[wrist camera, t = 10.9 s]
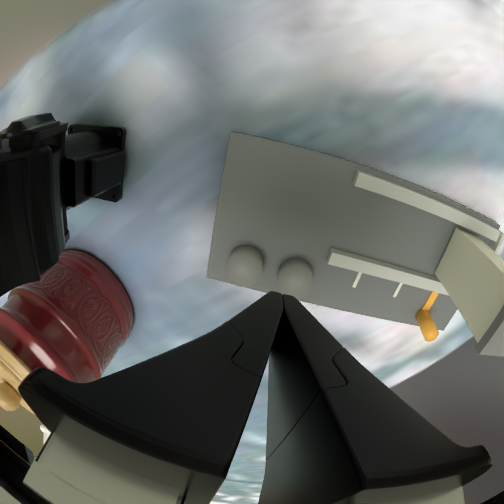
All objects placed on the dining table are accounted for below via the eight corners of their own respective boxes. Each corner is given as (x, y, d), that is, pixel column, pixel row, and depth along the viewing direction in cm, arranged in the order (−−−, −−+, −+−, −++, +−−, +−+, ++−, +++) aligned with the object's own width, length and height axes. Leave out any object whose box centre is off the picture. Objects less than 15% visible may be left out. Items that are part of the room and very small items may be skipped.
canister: (77, 332, 33) (11, 423, 17) (39, 249, 27) (-59, 335, 12) (152, 343, 30) (85, 470, 15) (112, 242, 25) (-17, 371, 9)
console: (209, 272, 25) (195, 297, 21) (233, 131, 19) (219, 134, 15) (440, 325, 24) (453, 350, 20) (495, 222, 18) (518, 240, 15)
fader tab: (431, 274, 20) (478, 354, 12) (455, 224, 18) (521, 290, 10) (458, 282, 20) (505, 356, 12) (480, 235, 18) (543, 299, 10)
